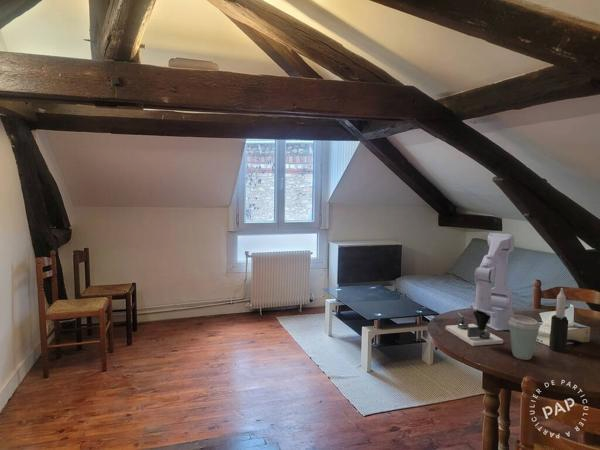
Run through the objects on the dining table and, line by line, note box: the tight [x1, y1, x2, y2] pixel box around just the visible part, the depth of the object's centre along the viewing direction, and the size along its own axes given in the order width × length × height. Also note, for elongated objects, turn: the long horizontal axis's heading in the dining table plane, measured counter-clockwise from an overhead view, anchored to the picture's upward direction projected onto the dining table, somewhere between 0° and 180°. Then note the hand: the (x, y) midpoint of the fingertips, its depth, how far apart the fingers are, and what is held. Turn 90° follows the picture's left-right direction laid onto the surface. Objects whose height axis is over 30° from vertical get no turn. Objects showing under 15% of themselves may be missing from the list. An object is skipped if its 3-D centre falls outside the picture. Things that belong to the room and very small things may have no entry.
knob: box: [455, 312, 469, 329], centre depth 187 cm, size 10×4×4 cm, turn 178°
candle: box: [549, 287, 569, 354], centre depth 164 cm, size 5×5×25 cm
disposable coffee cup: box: [508, 314, 541, 361], centre depth 157 cm, size 11×11×15 cm
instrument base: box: [445, 323, 504, 347], centre depth 179 cm, size 14×20×2 cm
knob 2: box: [467, 325, 491, 339], centre depth 173 cm, size 10×4×4 cm, turn 102°
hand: (481, 329), depth 169 cm, fingers closed
